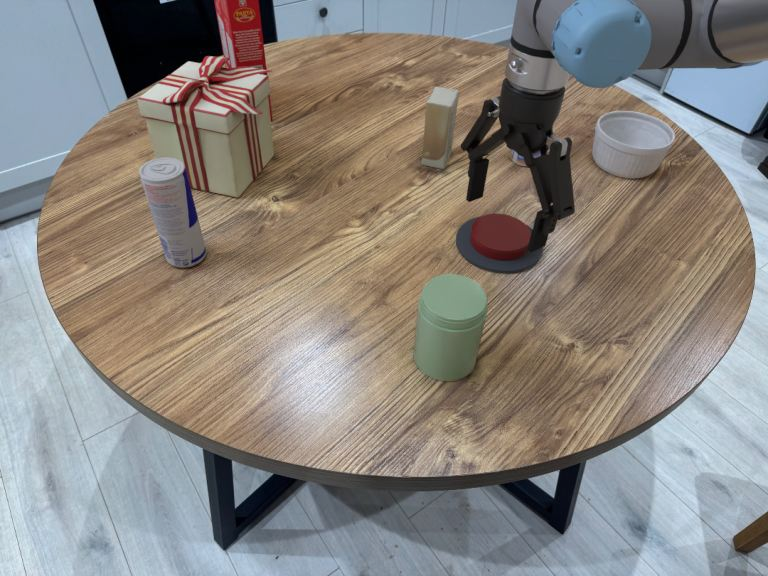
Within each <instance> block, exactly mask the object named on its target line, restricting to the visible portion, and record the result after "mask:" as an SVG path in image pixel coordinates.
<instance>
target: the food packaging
mask: <svg viewBox="0 0 768 576" xmlns="http://www.w3.org/2000/svg"><path fill="white" fill-rule="evenodd" d="M213 1H214V7H215V14H216V20H217V24H218V32H219V36H220V42H221V48H222V54H223V57H227V58H230V60H228V61H226V63H225V64H224V65H225V68H234V67H243V66H249V67H253V68H258V69H263V70H268V69H267V62H266V53H265V45H264V36H263V27H262V20H261V19H262V18H261V12H260V2H259V0H213ZM261 75H266V76H268V72H267V73H263V74H261ZM268 99H269V109H270V118H271V122H273V121H274V119H273V111H272V110H273V109H272V103H271V93H270V94H269V95H268Z"/></svg>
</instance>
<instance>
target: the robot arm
mask: <svg viewBox="0 0 768 576" xmlns="http://www.w3.org/2000/svg"><path fill="white" fill-rule="evenodd" d="M515 5H516V6H515V10H514V11H515V12H514V18H513V23H512V29H511V36H510V40H509V47H508V51H507V58H506V63H505V69H504V78H503V79H502V82H501V83H502V84H501V90H500V94H499V95H498V96H495V97H492V98H488V99H485V100H484V101H483V104H482V109H481V113H480V115H479V116H478V117H477V118H476V120H475V122H474V123H473V125H472V126H471V128H470V129H469V132H468V133H467V134H466V136H465V138H464V139H463V140H462V141H461V144H460V148H461V150H462V151H463V152H466V153H467V157H468V160H469V163H468V170H467V176H468V177H467V178H468V183H467V192H466V197H465V200H466V202H468V203H471V202H473V201H477V200H478V199H481V198H483V197H484V192H485V187H486V182H487V176H488V171H489V164H490V159H488V157H486V156H490V153H492V152H494V151H495V150H497V149H498V148H499V147H501V146H502V145H503V144H506V145H505V147H506V148H508V149H509V150H511V149H512V150H515V152H516V153H517V154H518V155H520V156H521V157H523V158H524V161H525V164H526V166H528V167H527V168H529V171H530V173H531V177H532V180H533V183H534V187H535V190H536V193H537V197H538V200H539V203H540V207H541V209H540V210H538V211H536V215H535V218H534V223H533V226H532V229H533V230H532V233H531V237H530V241H529V244H528V248H527V250H528V251H529V252H533V251H536V250H538V249H540V248H542V247H543V248H545V247H546V245H547V241H548V238H549V235H550V234H553V232H555V230H556V227H557V223H558V221H561V220H563V219H565V218H567V217H570V216H573V215H574V214H575V213H576V207H575V198H574V196H575V195H574V188H573V187H574V186H573V178H572V177H573V176H572V165H571V152H572V146H573V140H572V139H571V137H568V136H567V137H565V138H561V137H558V136H556V135H555V134H554V129H553V128H554V124H555V122H556V120H557V119H558V118H559V116H560V112H561V109H562V105H563V101H564V98H565V94H566V88H565V86H566V85H567V84H568V83H569V80H570V75H571V76H572V78H574V79H575V80H576V81H577V82H578V83H579V84H581V85H583V86H585V87H588V88H592V89H606V88H610V87H612V86H613V85H616V84H618V83H620V82H622V81H626V80H627V79H629V78H630V77H632V76H633V75H634V74H635V73H636V72H637V71H646V70H663V69H716V70H717V69H718V70H730V69H739V68H742V67H751V66H756V65H759V64H762V63H763V62H767V61H768V0H517V1H516V4H515ZM497 120H498V122H499V125H500V127H499V129H497V130H496V131H495V132H494V133H492V134H491V135H490V137H489V138H487V139H486V140H484V139H485V137H487V134H488V133H489V132H490V130H491V129H492V127H493V126H494V125H495V123H496V122H497ZM483 140H484V141H483ZM539 151H540V153H541V156H539V157H536V158H534V157H533V154H536V153H537V152H539ZM484 157H485V158H484ZM526 166H525V167H526Z"/></svg>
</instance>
